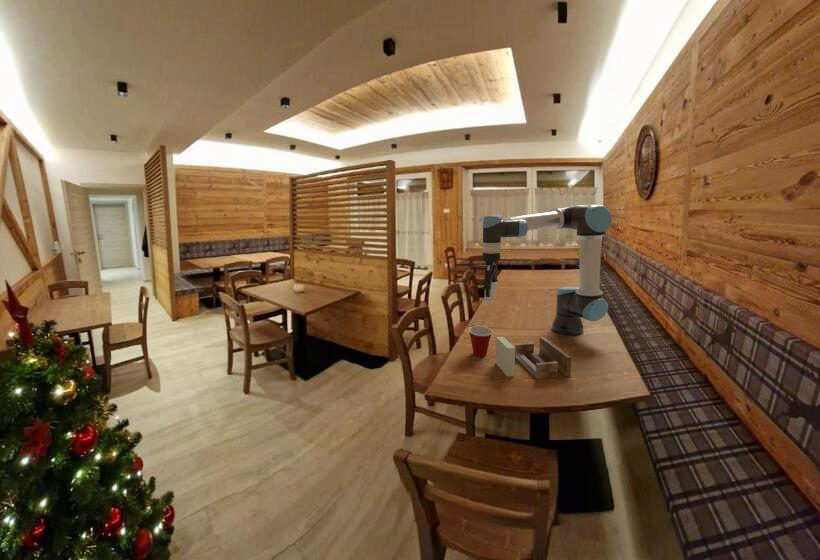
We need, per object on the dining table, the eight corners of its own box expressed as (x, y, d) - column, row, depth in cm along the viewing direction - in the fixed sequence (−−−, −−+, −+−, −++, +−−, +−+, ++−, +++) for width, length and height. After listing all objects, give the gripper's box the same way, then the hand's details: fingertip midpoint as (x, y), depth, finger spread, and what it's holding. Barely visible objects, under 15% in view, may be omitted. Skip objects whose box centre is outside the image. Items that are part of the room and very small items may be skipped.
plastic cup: (486, 361, 151) (486, 335, 148) (464, 356, 157) (464, 331, 154) (496, 352, 159) (496, 328, 156) (474, 347, 165) (474, 324, 163)
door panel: (502, 362, 149) (503, 336, 146) (514, 375, 137) (515, 347, 135) (496, 363, 149) (496, 337, 146) (507, 376, 137) (507, 348, 134)
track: (542, 353, 156) (543, 336, 154) (570, 376, 135) (571, 357, 133) (514, 356, 155) (514, 339, 153) (537, 379, 134) (538, 360, 132)
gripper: (487, 248, 161) (486, 292, 165) (476, 256, 138) (476, 306, 143) (504, 248, 158) (502, 293, 163) (496, 256, 136) (494, 308, 140)
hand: (490, 299), depth 153 cm, fingers open, 13 cm apart
